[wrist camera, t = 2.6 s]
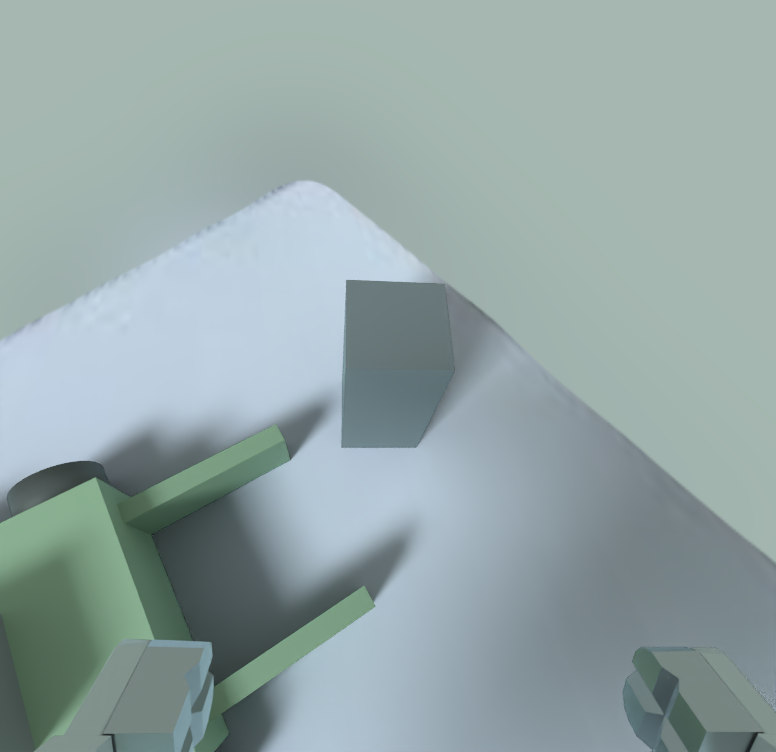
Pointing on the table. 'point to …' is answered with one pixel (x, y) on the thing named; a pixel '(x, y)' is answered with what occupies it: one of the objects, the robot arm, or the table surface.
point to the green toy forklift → (115, 588)
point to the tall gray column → (393, 361)
